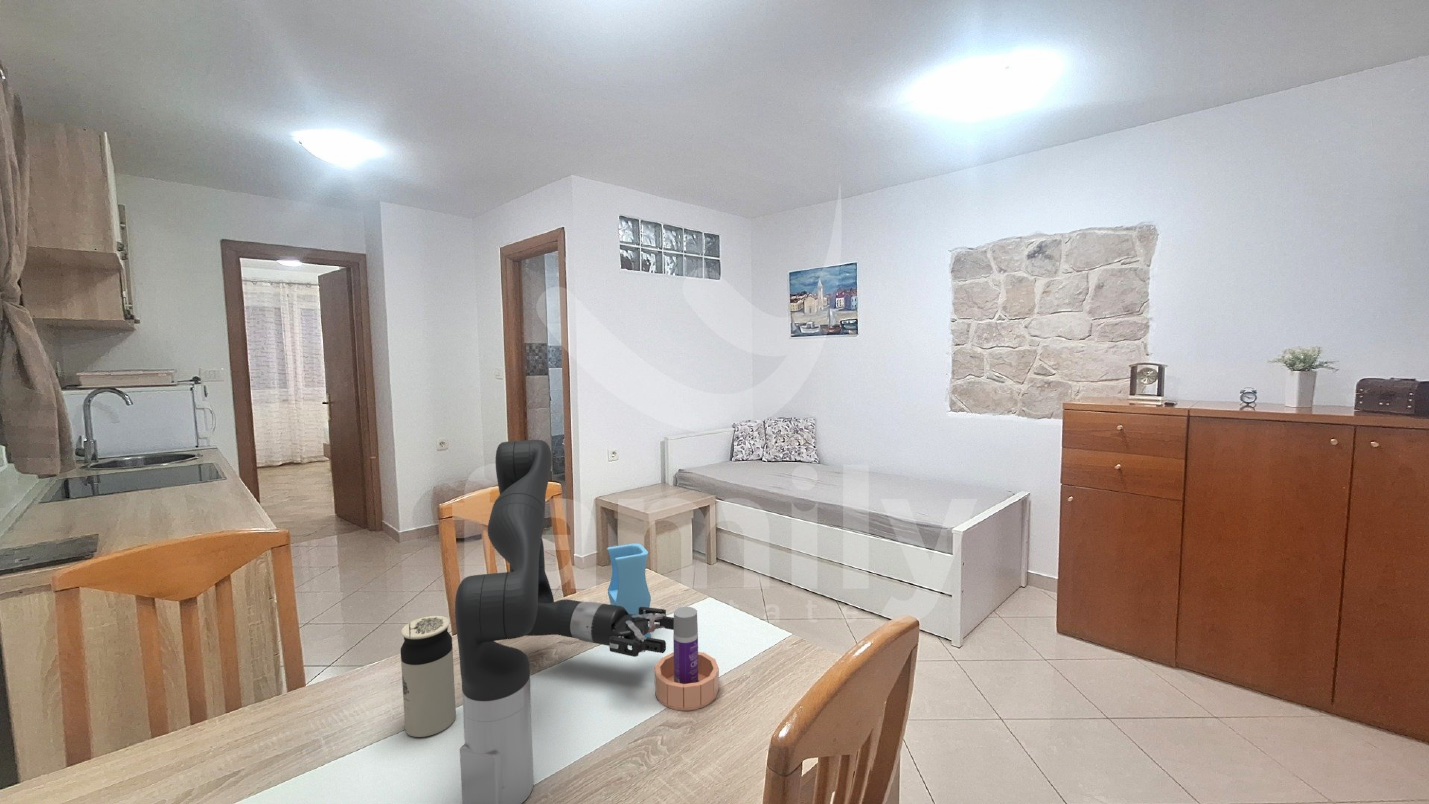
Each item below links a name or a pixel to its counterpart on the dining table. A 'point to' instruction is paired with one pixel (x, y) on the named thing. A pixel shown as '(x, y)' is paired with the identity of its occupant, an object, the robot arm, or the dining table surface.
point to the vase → (629, 578)
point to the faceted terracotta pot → (687, 694)
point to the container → (685, 645)
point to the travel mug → (427, 676)
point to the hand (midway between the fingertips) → (673, 635)
